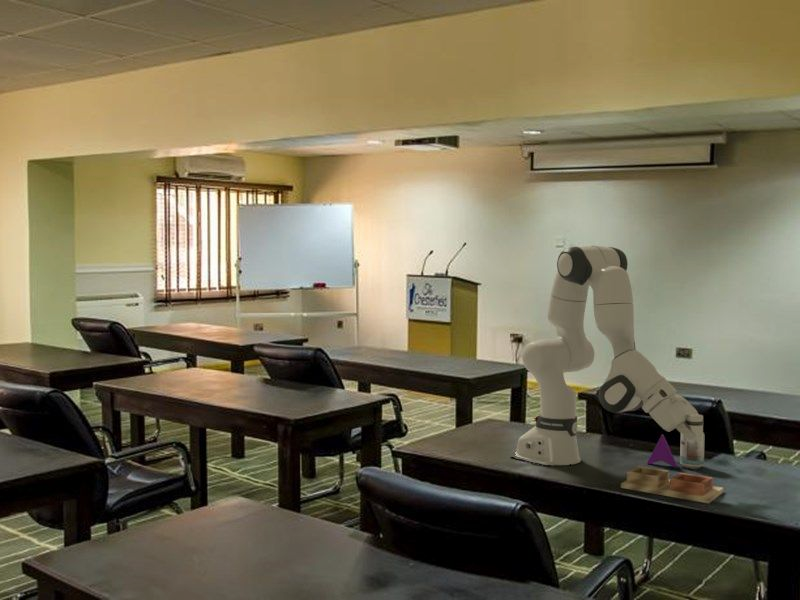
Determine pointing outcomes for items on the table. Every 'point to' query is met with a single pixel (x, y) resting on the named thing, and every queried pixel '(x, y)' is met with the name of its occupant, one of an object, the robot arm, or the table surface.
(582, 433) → the table surface
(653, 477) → the collar board
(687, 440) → the white cylinder
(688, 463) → the beverage can
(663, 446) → the arrowhead
